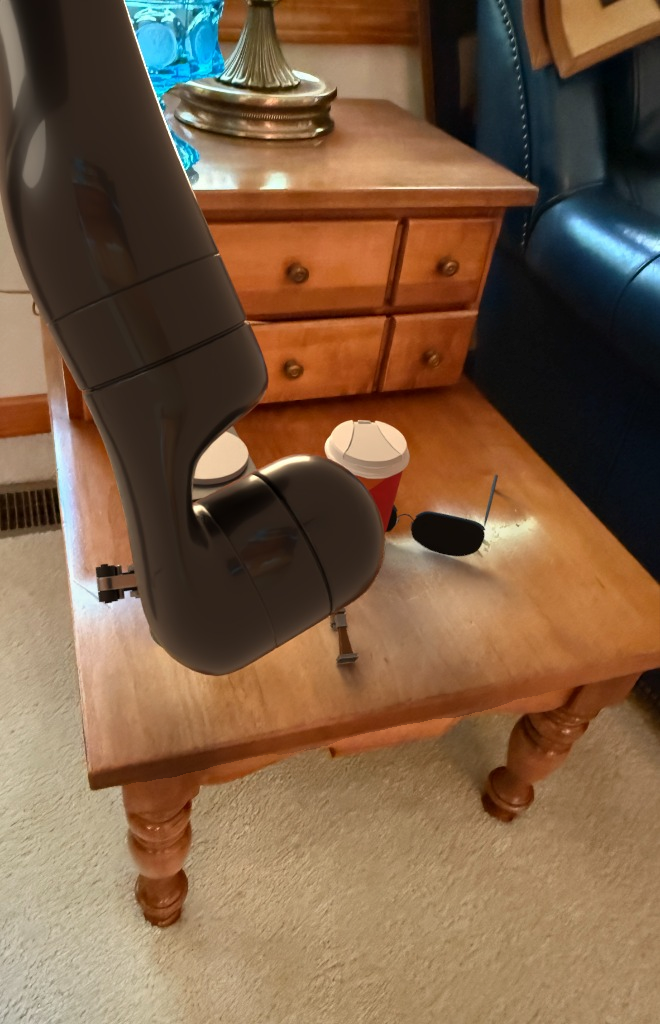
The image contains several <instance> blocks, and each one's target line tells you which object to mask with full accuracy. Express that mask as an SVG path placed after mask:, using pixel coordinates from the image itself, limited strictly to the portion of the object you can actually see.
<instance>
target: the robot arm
mask: <svg viewBox="0 0 660 1024" xmlns="http://www.w3.org/2000/svg"><path fill="white" fill-rule="evenodd" d="M189 179H190V178H189V177H188V174H187V172H186V170H185V167H184V165H183V162H182V159H181V158H180V155H179V152H178V150H177V146H176V144H175V141H174V140H173V137H172V134H171V132H170V129H169V126H168V124H167V121H166V119H165V117H164V112H163V110H162V107H161V105H160V102H159V99H158V97H157V93H156V91H155V89H154V86H153V83H152V80H151V78H150V74H149V71H148V68H147V66H146V63H145V59H144V56H143V53H142V51H141V48H140V44H139V41H138V39H137V35H136V32H135V29H134V26H133V23H132V20H131V17H130V13H129V10H128V7H127V4H126V1H125V0H0V200H1V207H2V212H3V215H4V220H5V224H6V229H7V232H8V236H9V240H10V243H11V246H12V249H13V253H14V255H15V259H16V261H17V265H18V267H19V269H20V272H21V275H22V277H23V280H24V282H25V284H26V287H27V288H28V291H29V293H30V295H31V298H32V300H33V302H34V304H35V306H36V308H37V310H38V312H39V314H40V316H41V319H42V320H43V322H44V325H46V326H47V327H46V329H47V330H48V332H49V333H50V336H51V338H52V340H53V341H54V344H55V345H56V347H57V350H58V351H59V353H60V356H61V357H62V359H63V362H64V363H65V365H66V367H67V369H68V370H69V373H70V375H71V377H72V379H73V380H74V382H75V385H76V387H77V389H78V390H79V391H82V394H81V395H82V397H83V400H84V402H85V404H86V407H87V408H88V410H89V412H90V415H91V416H92V419H93V421H94V424H95V425H96V429H97V430H98V434H99V435H100V437H101V440H102V443H103V445H104V449H105V451H106V453H107V457H108V459H109V464H110V466H111V469H112V473H113V475H114V479H115V484H116V487H117V490H118V494H119V498H120V501H121V507H122V511H123V515H124V520H125V525H126V529H127V536H128V540H129V541H128V543H129V549H130V553H131V559H132V561H131V562H132V563H131V564H130V565H126V569H127V571H126V572H123V567H122V565H121V564H111V565H109V563H101V564H100V566H95V576H96V586H97V595H98V603H104V605H106V604H107V605H108V604H113V603H114V602H118V601H119V600H125V599H126V596H125V592H129V596H130V598H135V600H136V599H140V603H141V607H142V611H143V614H144V617H145V620H146V622H147V625H148V628H149V627H150V629H151V631H152V633H153V634H154V636H155V638H156V640H157V641H158V643H159V644H160V645H161V646H162V647H161V646H160V647H161V648H163V650H164V652H165V653H166V654H167V655H169V656H170V657H171V659H173V660H174V661H176V662H177V663H178V664H179V665H182V666H183V667H185V668H187V669H189V670H190V671H193V672H194V673H198V674H201V675H205V676H212V677H223V676H226V675H231V674H234V673H236V672H238V671H240V670H242V669H245V668H246V667H248V666H249V665H252V664H253V663H255V662H256V661H258V660H260V659H262V658H263V657H265V656H266V655H268V654H270V653H271V652H273V651H274V650H276V649H278V648H280V647H281V646H283V645H285V644H286V643H288V642H290V641H291V640H293V639H294V638H296V637H298V636H299V635H301V634H303V633H304V632H305V633H306V631H308V630H311V628H313V627H315V626H317V625H318V624H320V623H321V622H323V621H325V620H326V619H328V618H330V616H332V615H333V614H335V613H337V612H338V611H340V610H342V609H343V608H345V609H346V608H347V607H348V606H350V605H352V604H353V603H355V602H356V601H358V600H359V599H360V598H362V596H364V594H366V593H367V592H368V591H369V590H370V588H371V587H372V586H373V584H374V583H375V581H376V580H377V578H378V576H379V574H380V571H381V569H382V566H383V562H384V558H385V552H386V551H385V550H386V533H385V532H384V526H383V522H382V518H381V515H380V512H379V509H378V507H377V505H376V503H375V501H374V499H373V497H372V495H371V494H370V492H369V491H368V490H367V488H366V487H365V486H364V485H363V483H362V482H361V481H360V480H359V479H358V478H357V477H356V476H355V475H354V474H353V473H351V472H350V471H349V470H348V469H346V468H345V467H344V466H342V465H340V464H339V463H337V462H335V461H333V460H331V459H328V458H327V456H326V457H325V456H323V455H319V454H313V453H294V454H290V455H289V454H288V455H286V456H282V457H280V458H277V459H276V460H274V461H271V462H270V463H268V464H266V465H264V466H262V467H259V468H257V470H256V471H254V472H252V473H251V475H250V474H248V475H246V476H244V477H242V478H240V479H238V480H236V481H234V482H233V483H231V484H229V485H227V486H225V487H223V488H221V489H219V490H217V491H215V492H213V493H211V494H209V495H208V496H206V497H204V498H202V499H200V500H198V501H196V502H195V503H194V502H193V501H192V490H193V481H194V476H195V470H196V467H197V464H198V462H199V459H200V458H201V456H202V455H203V454H204V453H205V451H206V450H207V449H208V448H209V447H210V446H211V444H212V443H213V442H215V441H216V440H217V439H218V438H219V437H220V436H221V435H222V434H223V433H225V432H226V431H227V430H228V429H230V428H231V427H232V426H233V427H234V425H235V426H236V424H237V423H238V422H240V421H241V420H242V419H243V418H245V417H246V416H247V415H248V414H249V413H251V412H252V410H254V409H255V408H256V407H257V406H258V405H259V404H260V402H262V400H263V399H264V397H265V396H266V393H267V391H268V388H269V382H270V380H269V379H270V378H269V377H270V376H269V371H268V366H267V363H266V359H265V357H264V353H263V351H262V348H261V346H260V344H259V341H258V339H257V337H256V334H255V332H254V329H253V328H252V324H251V322H250V321H246V320H247V319H248V315H247V313H246V311H245V309H244V307H243V304H242V302H241V300H240V297H239V295H238V292H237V290H236V288H235V285H234V283H233V280H232V278H231V276H230V274H229V270H227V267H226V264H225V262H224V260H223V257H222V255H221V253H220V250H219V248H218V245H217V243H216V241H215V238H214V236H213V233H212V232H211V228H210V227H209V224H208V222H207V220H206V218H205V215H204V213H203V210H202V208H201V206H200V204H199V201H198V199H197V197H196V194H195V192H194V189H193V187H192V185H191V182H190V180H189Z"/></svg>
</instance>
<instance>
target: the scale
mask: <svg viewBox="0 0 660 1024" xmlns="http://www.w3.org/2000/svg"><path fill="white" fill-rule="evenodd" d="M250 455H251V454H249V450H248V447H247V446H246V443H244V441H243V440H242V439H241V437H240V436H239V433H237V430H236V428H235V427H234V425H233V426H232V427H231V428H230V429H228V430H227V431H226V432H225V433H223V434H222V435H221V436H220V437H219V438H218V439H217V440H216V441H215V442H213V443H212V444H211V446H210V447H209V448H208V449H207V450H206V451H205V453H204V454H203V455H202V456H201V458H200V459H199V462H198V464H197V467H196V470H195V476H194V481H193V490H192V501H193V502H194V503H195V502H196V501H198V500H200V499H202V498H204V497H206V496H208V495H209V494H211V493H213V492H215V491H217V490H219V489H221V488H223V487H225V486H227V485H229V484H231V483H233V482H234V481H236V480H238V479H240V478H242V477H244V476H246V475H248V474H250V475H251V473H252V472H254V471H256V470H258V468H257V466H256V464H255V462H254V460H253V459H252V457H251V456H250Z"/></svg>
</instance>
